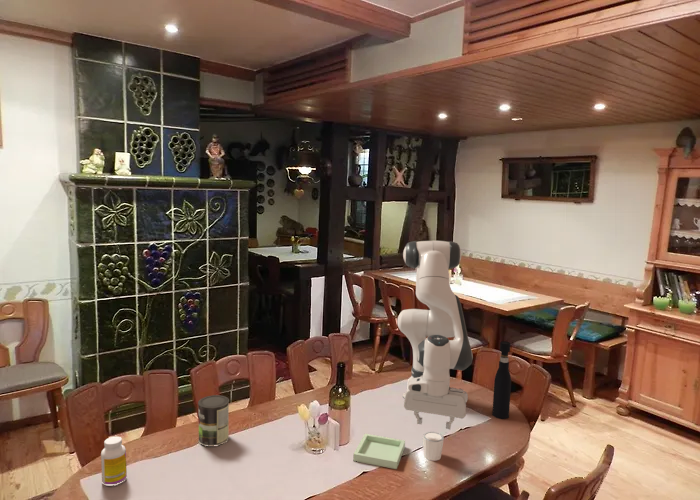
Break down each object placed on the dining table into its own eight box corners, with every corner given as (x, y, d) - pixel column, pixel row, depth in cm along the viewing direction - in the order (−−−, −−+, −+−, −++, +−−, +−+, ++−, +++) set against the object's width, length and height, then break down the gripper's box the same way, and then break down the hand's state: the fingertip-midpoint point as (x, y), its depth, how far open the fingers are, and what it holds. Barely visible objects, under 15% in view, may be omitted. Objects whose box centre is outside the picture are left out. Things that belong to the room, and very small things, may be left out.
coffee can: (201, 449, 163) (201, 409, 162) (195, 435, 172) (195, 397, 171) (232, 443, 168) (232, 404, 166) (225, 430, 177) (225, 393, 175)
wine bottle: (510, 419, 192) (515, 345, 188) (493, 418, 192) (498, 344, 189) (507, 412, 198) (512, 340, 194) (491, 411, 199) (495, 339, 195)
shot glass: (442, 463, 159) (443, 442, 159) (421, 460, 161) (422, 440, 160) (442, 452, 166) (443, 432, 165) (422, 449, 167) (423, 430, 167)
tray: (364, 439, 173) (364, 433, 173) (404, 447, 169) (405, 440, 168) (353, 460, 159) (353, 453, 159) (396, 469, 155) (396, 462, 155)
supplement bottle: (130, 481, 145) (129, 440, 143) (107, 490, 140) (106, 448, 139) (120, 472, 149) (119, 432, 148) (98, 481, 144) (96, 440, 143)
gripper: (468, 386, 160) (466, 426, 162) (407, 378, 166) (405, 417, 168) (467, 393, 154) (465, 435, 156) (403, 384, 160) (402, 425, 162)
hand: (433, 425), depth 162 cm, fingers open, 8 cm apart
